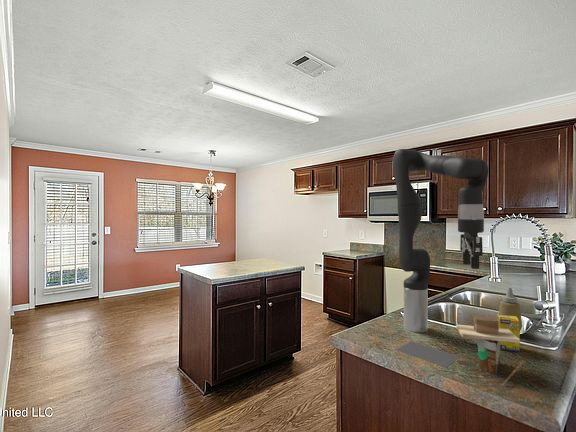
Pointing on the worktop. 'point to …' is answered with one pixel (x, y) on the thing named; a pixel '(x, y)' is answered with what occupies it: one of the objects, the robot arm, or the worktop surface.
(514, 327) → the supplement box
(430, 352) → the mat
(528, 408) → the worktop surface
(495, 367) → the food container
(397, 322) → the worktop surface
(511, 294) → the squeeze bottle
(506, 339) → the lid
